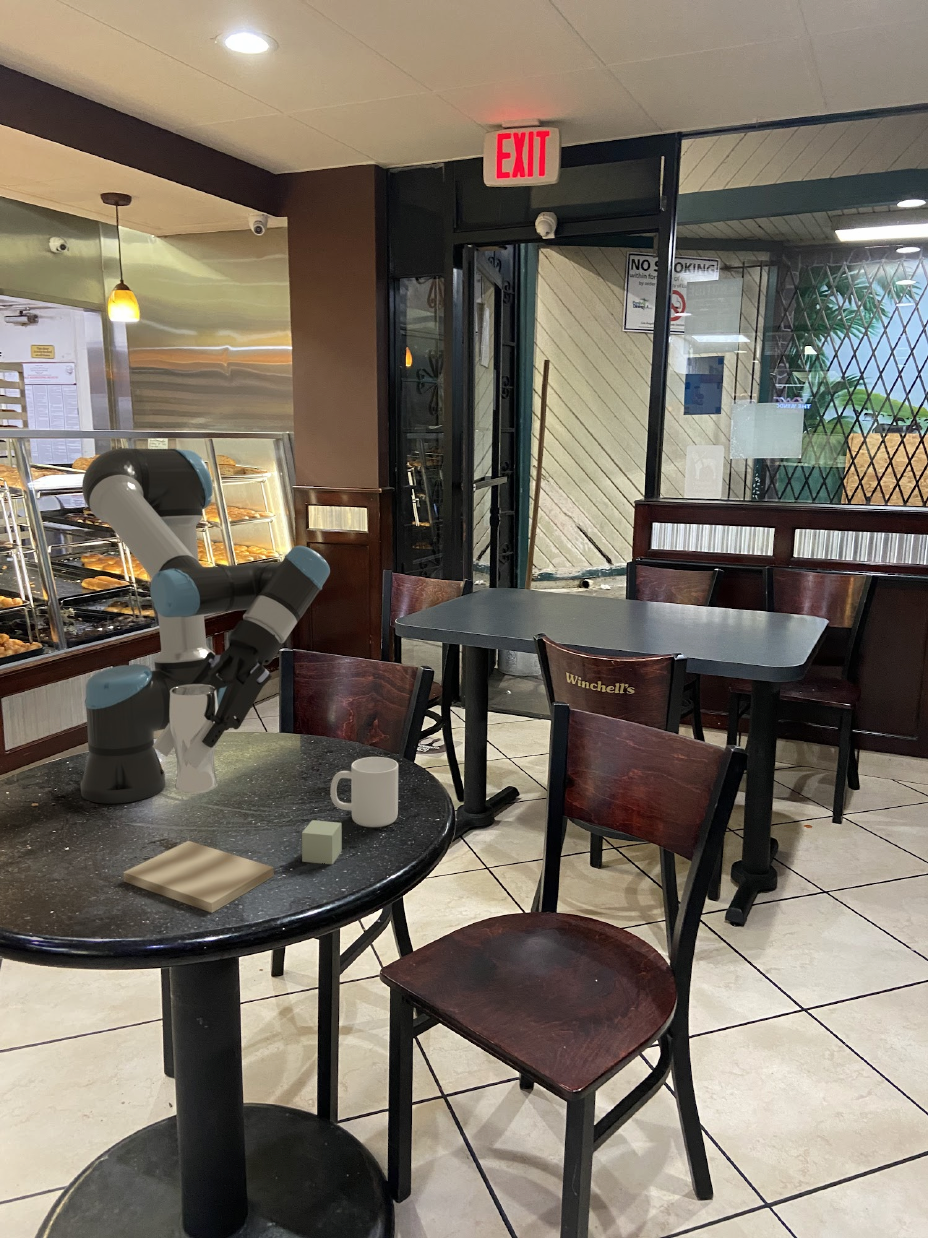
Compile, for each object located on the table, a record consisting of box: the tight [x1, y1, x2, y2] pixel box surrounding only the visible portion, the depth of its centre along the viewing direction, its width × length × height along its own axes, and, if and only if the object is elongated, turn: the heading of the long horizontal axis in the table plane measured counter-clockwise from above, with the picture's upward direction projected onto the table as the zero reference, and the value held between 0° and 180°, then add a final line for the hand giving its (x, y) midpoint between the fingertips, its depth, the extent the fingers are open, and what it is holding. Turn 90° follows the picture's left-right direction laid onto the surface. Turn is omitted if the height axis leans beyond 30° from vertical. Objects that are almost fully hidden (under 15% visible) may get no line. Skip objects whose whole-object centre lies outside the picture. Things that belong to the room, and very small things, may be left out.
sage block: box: [301, 819, 343, 865], centre depth 143 cm, size 5×5×5 cm
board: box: [123, 840, 275, 914], centre depth 135 cm, size 18×13×2 cm
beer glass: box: [169, 684, 219, 795], centre depth 131 cm, size 7×7×15 cm
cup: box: [330, 756, 399, 828], centre depth 158 cm, size 8×12×10 cm
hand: (174, 757), depth 129 cm, fingers closed on beer glass, 7 cm apart
